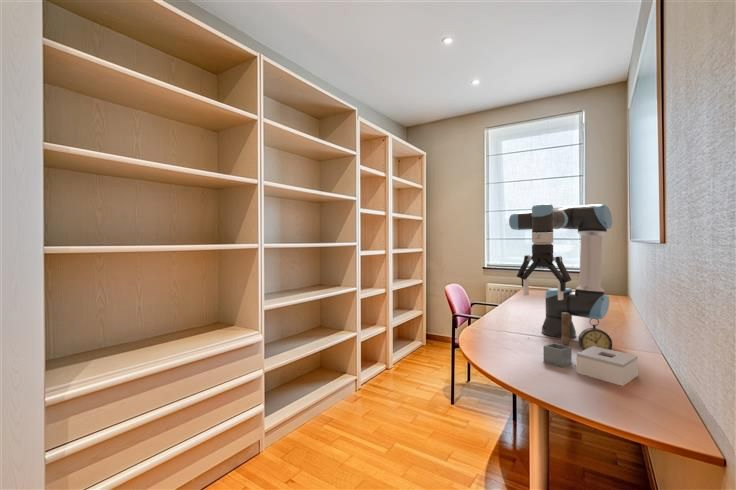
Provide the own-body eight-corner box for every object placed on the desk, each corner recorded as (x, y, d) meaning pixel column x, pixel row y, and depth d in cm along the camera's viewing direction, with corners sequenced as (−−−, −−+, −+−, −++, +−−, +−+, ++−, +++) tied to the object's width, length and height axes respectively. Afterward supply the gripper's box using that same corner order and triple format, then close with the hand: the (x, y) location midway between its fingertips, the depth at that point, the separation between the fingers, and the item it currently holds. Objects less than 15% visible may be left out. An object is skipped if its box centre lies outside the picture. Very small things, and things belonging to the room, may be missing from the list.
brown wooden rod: (563, 355, 141) (563, 312, 141) (570, 357, 139) (570, 313, 139) (560, 356, 140) (560, 313, 139) (567, 358, 137) (567, 314, 137)
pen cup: (552, 358, 138) (552, 342, 138) (571, 363, 132) (571, 347, 132) (543, 361, 134) (543, 345, 134) (562, 367, 128) (562, 350, 128)
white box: (592, 364, 131) (593, 346, 131) (637, 375, 120) (637, 355, 120) (576, 372, 123) (576, 353, 123) (622, 385, 112) (623, 364, 112)
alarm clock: (581, 358, 137) (581, 318, 137) (577, 354, 143) (577, 315, 142) (612, 361, 134) (612, 320, 134) (607, 356, 139) (607, 317, 139)
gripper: (508, 243, 142) (508, 294, 143) (571, 244, 122) (571, 303, 123) (518, 243, 147) (518, 292, 147) (581, 243, 126) (581, 300, 127)
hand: (542, 297), depth 135 cm, fingers open, 13 cm apart
